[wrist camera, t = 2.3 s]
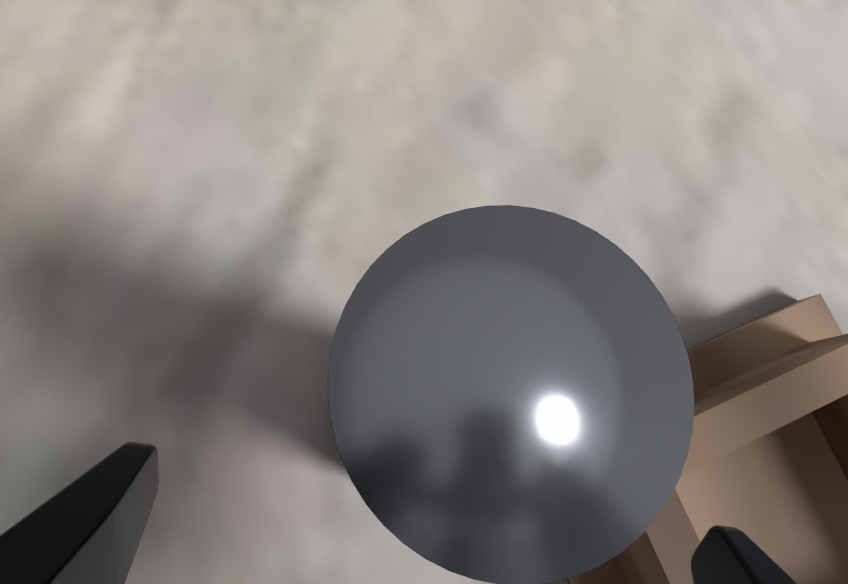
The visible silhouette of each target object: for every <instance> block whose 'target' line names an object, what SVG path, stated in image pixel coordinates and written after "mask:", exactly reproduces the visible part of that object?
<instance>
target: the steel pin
mask: <svg viewBox="0 0 848 584" xmlns="http://www.w3.org/2000/svg"><path fill="white" fill-rule="evenodd" d="M328 401H329V410H330V416H331V423H332V429H333V433H334V436H335V440H336V443H337V446H338V450H339V453H340V456H341V459H342V461H343V463H344V465H345V467H346V470H347V472H348V474H349V476H350V478H351V481H352V482H353V484H354V486H355V487H356V489H357V490H358V492H359V494H360V495H361V497H362V498H363V500H364V502H365V503H366V505H367V506H368V507H369V508H370V509H371V511H372V512H373V513H374V514H375V516H376V517H377V518H378V519H379V520H380V522H381V523H382V524H383V525H384V526H385V527H386V528H387V529H388V530H389V531H390V532H391V533H393V534H394V535H395V536H396V537H397V538H398V539H399V540H400V541H401V542H402V543H403V544H405V545H406V546H408V547H409V548H411V549H412V550H413V551H415V552H416V553H418V554H419V555H421V556H422V557H424V558H425V559H427V560H429V561H431V562H433V563H435V564H437V565H439V566H441V567H443V568H445V569H446V570H448V571H451V572H454V573H457V574H460V575H463V576H466V577H469V578H472V579H474V580H480V581H485V582H491V583H496V584H543V583H552V582H556V581H560V580H563V579H567V578H571V577H575V576H578V575H580V574H582V573H585V572H587V571H589V570H592V569H594V568H596V567H599V566H601V565H602V564H604V563H605V562H607V561H609V560H610V559H612V558H614V557H615V556H617V555H618V554H620V553H621V552H623V551H624V550H625V549H626V548H627V547H629V546H630V545H631V544H632V543H633V542H635V541H636V540H637V539H638V538H639V537H640V536H641V535H642V534H643V533H644V532H645V531H646V530H647V528H648V527H649V526H650V525H651V524H652V523H653V522H654V521H655V520H656V518H657V517H658V515H659V514H660V512H661V511H662V509H663V508H664V506H665V505H666V503H667V502H668V500H669V499H670V497H671V495H672V493H673V491H674V489H675V487H676V485H677V483H678V481H679V479H680V476H681V473H682V470H683V467H684V464H685V461H686V458H687V455H688V451H689V446H690V441H691V436H692V431H693V418H694V391H693V379H692V374H691V368H690V362H689V357H688V354H687V351H686V347H685V344H684V341H683V337H682V335H681V332H680V330H679V328H678V325H677V323H676V321H675V318H674V316H673V314H672V312H671V310H670V309H669V307H668V305H667V303H666V302H665V300H664V298H663V296H662V295H661V293H660V292H659V291H658V289H657V288H656V287H655V285H654V284H653V282H652V281H651V280H650V278H649V277H648V276H647V275H646V273H645V272H644V271H643V270H642V269H641V268H640V267H639V266H638V265H637V264H636V263H635V262H634V261H633V259H631V258H630V257H629V256H628V255H627V254H626V253H624V252H623V251H622V250H621V249H620V248H619V247H617V246H616V245H615V244H614V243H612V242H611V241H609V240H608V239H606V238H605V237H603V236H602V235H600V234H599V233H597V232H596V231H594V230H592V229H590V228H588V227H586V226H584V225H582V224H581V223H579V222H577V221H574V220H572V219H569V218H566V217H564V216H561V215H558V214H555V213H552V212H548V211H544V210H539V209H535V208H529V207H520V206H511V205H506V206H483V207H476V208H469V209H464V210H461V211H457V212H453V213H450V214H446V215H443V216H441V217H439V218H436V219H434V220H432V221H429V222H427V223H424V224H423V225H421V226H419V227H418V228H416V229H414V230H413V231H411V232H409V233H408V234H406V235H404V236H403V237H402V238H400V239H399V240H398V241H397V242H395V243H394V244H393V245H392V246H390V247H389V248H388V249H387V250H386V251H385V252H384V253H383V254H382V255H381V256H380V257H379V258H378V259H377V260H376V261H375V262H374V263H373V264H372V265H371V266H370V268H369V269H368V270H367V272H366V273H365V274H364V276H363V277H362V278H361V280H360V281H359V282H358V284H357V285H356V287H355V289H354V291H353V293H352V294H351V296H350V298H349V300H348V302H347V304H346V305H345V308H344V310H343V313H342V315H341V318H340V321H339V323H338V326H337V328H336V332H335V336H334V340H333V345H332V349H331V353H330V362H329V372H328Z"/></svg>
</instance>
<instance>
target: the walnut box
mask: <svg viewBox="0 0 848 584" xmlns="http://www.w3.org/2000/svg"><path fill="white" fill-rule="evenodd" d="M687 354H688V357H689V362H690V368H691V374H692V379H693V391H694V418H693V431H692V436H691V441H690V446H689V451H688V455H687V458H686V461H685V464H684V467H683V470H682V473H681V476H680V479H679V481H678V483H677V485H676V487H675V489H674V491H673V493H672V495H671V497H670V499H669V500H668V502H667V503H666V505H665V506H664V508H663V509H662V511H661V512H660V514H659V515H658V517H657V518H656V520H655V521H654V522H653V523H652V524H651V525H650V526H649V527H648V528H647V530H646V531H645V532H644V533H643V534H642V535H641V536H640V537H639V538H638V539H637V540H636V541H635V542H633V543H632V544H631V545H630V546H629V547H627V548H626V549H625V550H624V551H623V552H621V553H620V554H618V555H617V556H615V557H614V558H612V559H610V560H609V561H607V562H605V563H604V564H602V565H601V566H599V567H596V568H594V569H592V570H589V571H587V572H585V573H582V574H580V575H578V576H575V577H571V578H568V579H569V581H570V584H694V583H693V578H692V573H691V558H692V555H693V553H694V551H695V550H696V548H697V547H698V545H699V544H700V542H701V541H702V539H703V538H704V536H705V535H706V533H707V532H708V530H709V529H710V528H711V527H713V526H715V525H720V526H727V527H734V528H737V529H740V530H741V531H743V532H744V533H745V534H746V535H747V536H748V537H749V538H750V539H751V540H752V541H753V542H754V543H755V544H757V545H758V546H759V547H760V548H761V549H762V550H763V551H764V552H765V553H766V554H767V555H768V556H769V557H770V558H771V559H772V560H773V561H774V562H775V563H776V564H778V565H779V566H780V567H781V568H782V569H783V570H784V571H785V572H786V573H787V574H788V575H789V576H790V577H791V578H792V579H793V580H794V581H795V582H796V583H797V584H848V334H844V335H843V334H842V332H841V330H840V329H839V327H838V325H837V323H836V321H835V319H834V318H833V316H832V314H831V312H830V310H829V308H828V307H827V305H826V303H825V301H824V299H823V298H822V296H821V294H818V295H815V296H812V297H809V298H805V299H802V300H799V301H797V302H795V303H792V304H790V305H788V306H786V307H783V308H781V309H779V310H777V311H774V312H772V313H770V314H768V315H765V316H763V317H761V318H759V319H756V320H754V321H752V322H750V323H747V324H745V325H743V326H741V327H738V328H736V329H734V330H732V331H729V332H727V333H725V334H723V335H720V336H718V337H716V338H714V339H711V340H709V341H707V342H705V343H702V344H700V345H698V346H696V347H693V348H691V349H689V350H687Z"/></svg>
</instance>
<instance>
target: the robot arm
mask: <svg viewBox="0 0 848 584" xmlns="http://www.w3.org/2000/svg"><path fill="white" fill-rule="evenodd" d="M158 483H159V479H158V453H157V449H156V447H155V446H154V445H151V444H144V443H137V442H128V443H126V444H124V445H122V446H121V447H120V448H118V449H117V450H115V451H114V452H113V453H111V454H110V455H109V456H107V457H106V458H105V459H103V460H102V461H101V462H99V463H98V464H96V465H95V466H94V467H92V468H91V469H90V470H88V471H87V472H86V473H84V474H83V475H82V476H80V477H79V478H78V479H76V480H75V481H73V482H72V483H71V484H69V485H68V486H67V487H65V488H64V489H63V490H61V491H60V492H59V493H57V494H56V495H54V496H53V497H52V498H50V499H49V500H48V501H46V502H45V503H44V504H42V505H41V506H40V507H38V508H37V509H36V510H34V511H33V512H31V513H30V514H29V515H27V516H26V517H25V518H23V519H22V520H21V521H19V522H18V523H17V524H15V525H14V526H12V527H11V528H10V529H8V530H7V531H6V532H4V533H3V534H2V535H0V584H124V583H125V580H126V578H127V575H128V572H129V569H130V567H131V564H132V561H133V558H134V555H135V553H136V550H137V547H138V544H139V542H140V539H141V536H142V533H143V531H144V528H145V525H146V522H147V520H148V517H149V514H150V511H151V509H152V506H153V503H154V500H155V497H156V494H157V490H158ZM691 573H692V578H693V583H694V584H797V583H796V582H795V581H794V580H793V579H792V578H791V577H790V576H789V575H788V574H787V573H786V572H785V571H784V570H783V569H782V568H781V567H780V566H779V565H778V564H776V563H775V562H774V561H773V560H772V559H771V558H770V557H769V556H768V555H767V554H766V553H765V552H764V551H763V550H762V549H761V548H760V547H759V546H758V545H757V544H755V543H754V542H753V541H752V540H751V539H750V538H749V537H748V536H747V535H746V534H745V533H744V532H743V531H741V530H740V529H737V528H734V527H727V526H720V525H715V526H713V527H711V528H710V529H709V530H708V532H707V533H706V535H705V536H704V538H703V539H702V541H701V542H700V544H699V545H698V547H697V548H696V550H695V551H694V553H693V555H692V558H691Z"/></svg>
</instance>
